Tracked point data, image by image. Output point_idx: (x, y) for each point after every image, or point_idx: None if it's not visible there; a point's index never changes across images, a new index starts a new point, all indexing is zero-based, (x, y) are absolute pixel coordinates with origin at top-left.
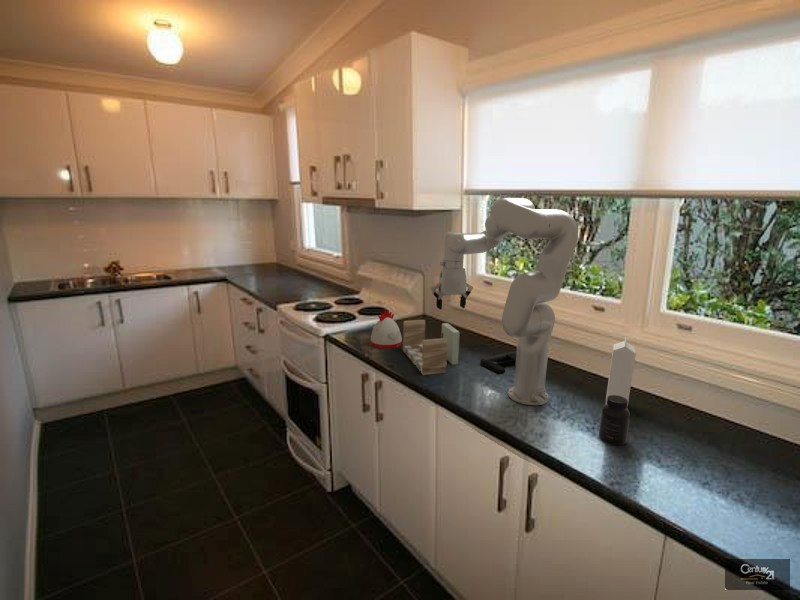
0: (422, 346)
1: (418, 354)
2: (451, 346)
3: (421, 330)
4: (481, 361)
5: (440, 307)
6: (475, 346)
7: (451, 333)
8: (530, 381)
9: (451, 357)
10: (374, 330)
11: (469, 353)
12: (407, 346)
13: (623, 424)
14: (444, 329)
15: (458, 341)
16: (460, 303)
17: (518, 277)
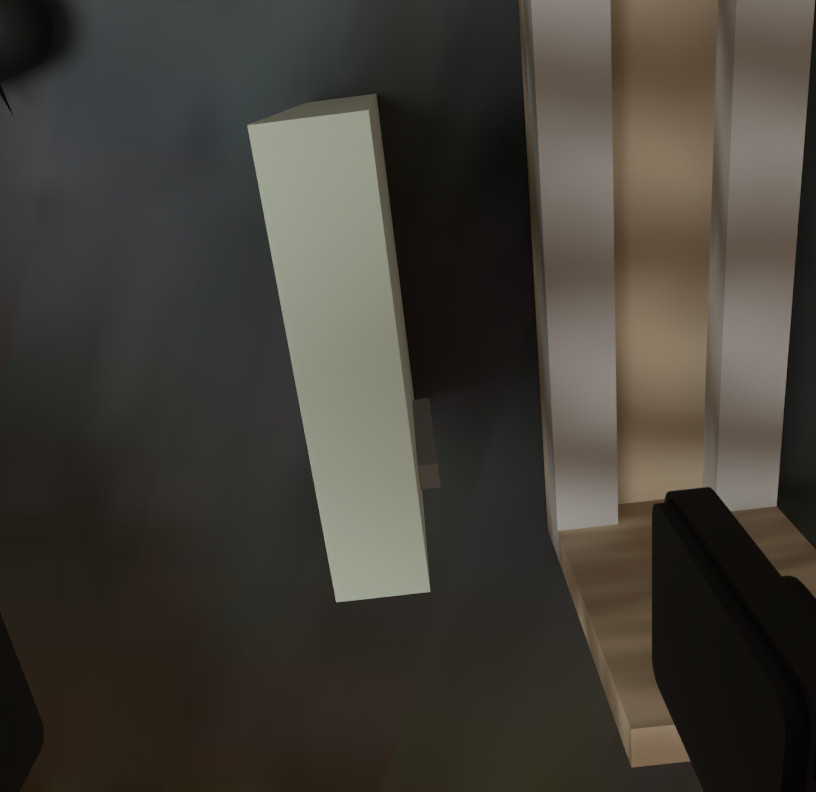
0: (597, 479)
1: (667, 348)
2: (379, 148)
3: (641, 626)
4: (35, 1)
5: (721, 512)
6: (23, 541)
7: (380, 197)
8: None
9: (378, 122)
10: None
11: (119, 373)
12: (746, 495)
13: None
14: (415, 464)
15: (282, 114)
16: (1, 785)
17: None
